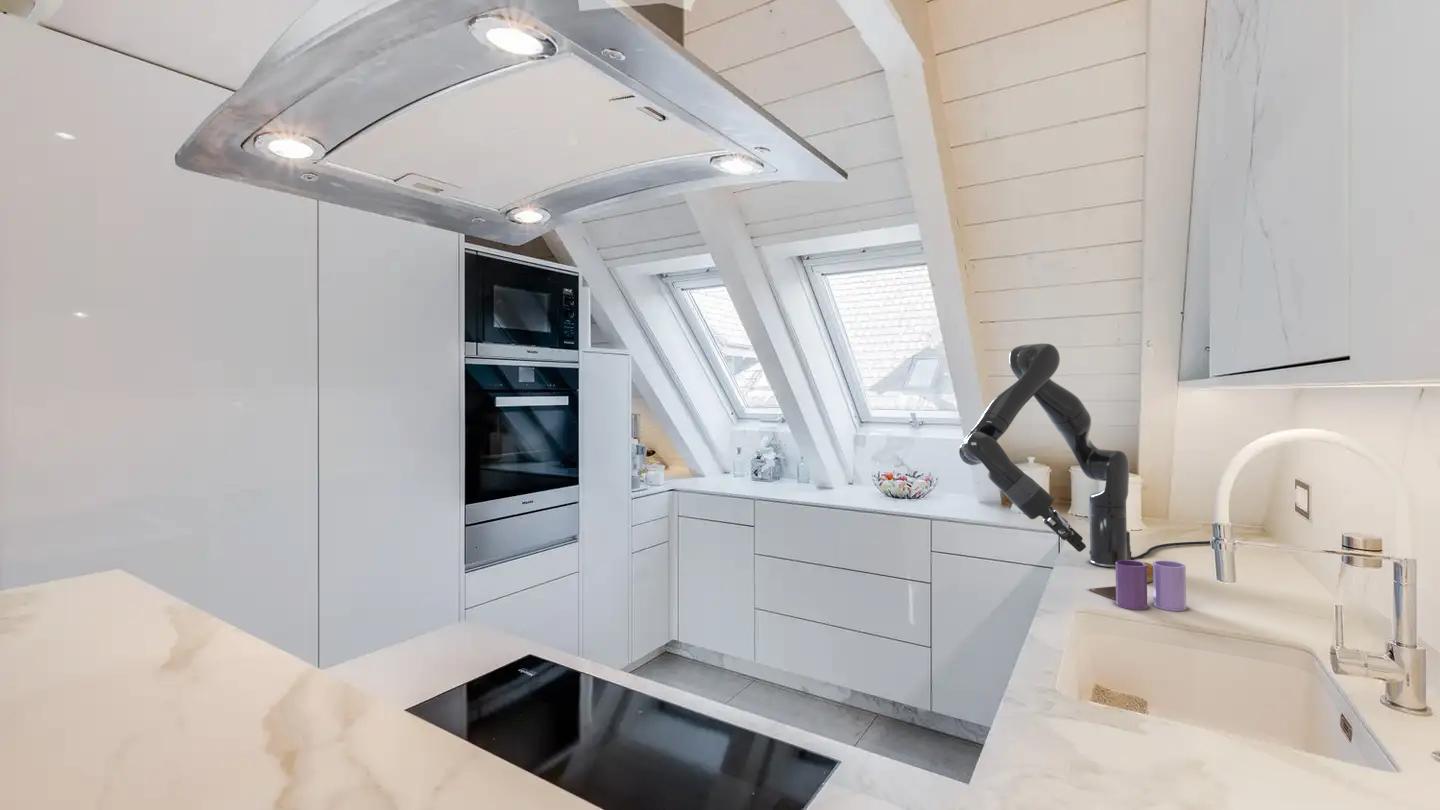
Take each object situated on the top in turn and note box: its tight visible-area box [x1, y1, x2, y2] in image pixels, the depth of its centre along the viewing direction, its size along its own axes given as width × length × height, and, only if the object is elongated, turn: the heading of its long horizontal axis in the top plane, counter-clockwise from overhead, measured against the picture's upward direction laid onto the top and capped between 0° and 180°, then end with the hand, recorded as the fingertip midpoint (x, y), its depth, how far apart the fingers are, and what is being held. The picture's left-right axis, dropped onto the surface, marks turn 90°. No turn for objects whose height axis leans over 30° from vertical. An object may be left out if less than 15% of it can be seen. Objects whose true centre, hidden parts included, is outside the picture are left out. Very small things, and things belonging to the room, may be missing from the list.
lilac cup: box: [1152, 560, 1187, 612], centre depth 151 cm, size 6×6×10 cm
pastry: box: [1142, 561, 1153, 584], centre depth 173 cm, size 9×7×4 cm
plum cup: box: [1115, 559, 1148, 611], centre depth 152 cm, size 6×6×10 cm
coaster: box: [1089, 585, 1116, 601], centre depth 162 cm, size 8×8×1 cm
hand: (1081, 545), depth 157 cm, fingers open, 8 cm apart
